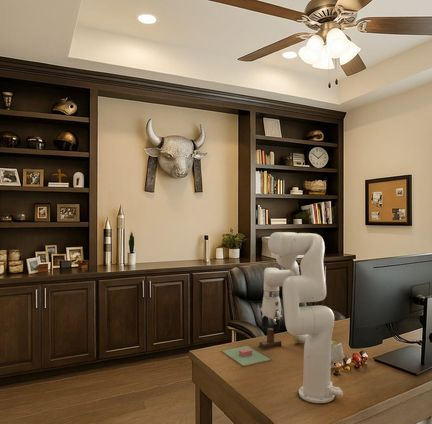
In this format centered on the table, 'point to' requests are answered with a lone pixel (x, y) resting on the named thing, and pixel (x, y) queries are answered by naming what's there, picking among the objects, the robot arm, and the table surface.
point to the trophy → (303, 337)
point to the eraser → (245, 352)
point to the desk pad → (246, 360)
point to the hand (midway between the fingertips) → (270, 329)
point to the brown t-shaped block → (270, 340)
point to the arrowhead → (337, 355)
